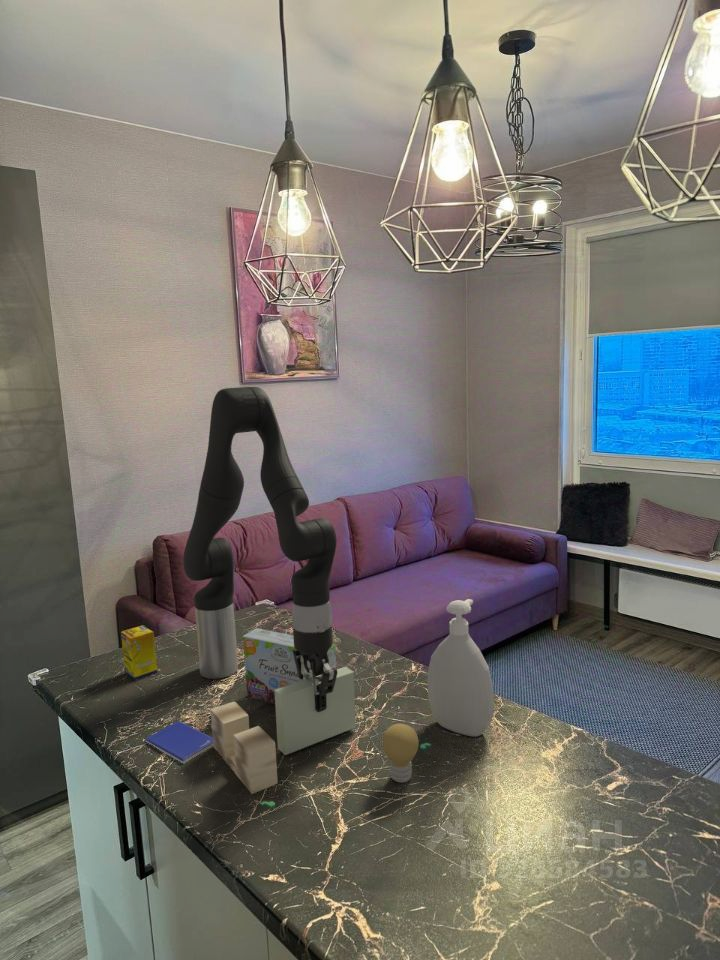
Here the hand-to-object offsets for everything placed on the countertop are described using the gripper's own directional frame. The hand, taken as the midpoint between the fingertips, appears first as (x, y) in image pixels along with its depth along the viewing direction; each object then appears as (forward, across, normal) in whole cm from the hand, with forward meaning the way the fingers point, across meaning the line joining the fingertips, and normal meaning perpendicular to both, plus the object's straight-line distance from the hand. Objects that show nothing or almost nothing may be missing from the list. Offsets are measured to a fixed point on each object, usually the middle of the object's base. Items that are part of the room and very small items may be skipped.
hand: (316, 706), depth 127 cm
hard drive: (+8, -16, -22) cm, 29 cm away
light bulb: (+8, +19, +6) cm, 22 cm away
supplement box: (+8, -53, -20) cm, 57 cm away
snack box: (+8, -17, +3) cm, 19 cm away
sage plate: (+7, 0, 0) cm, 7 cm away
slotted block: (+8, -2, -15) cm, 17 cm away
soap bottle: (+8, +13, +26) cm, 30 cm away
